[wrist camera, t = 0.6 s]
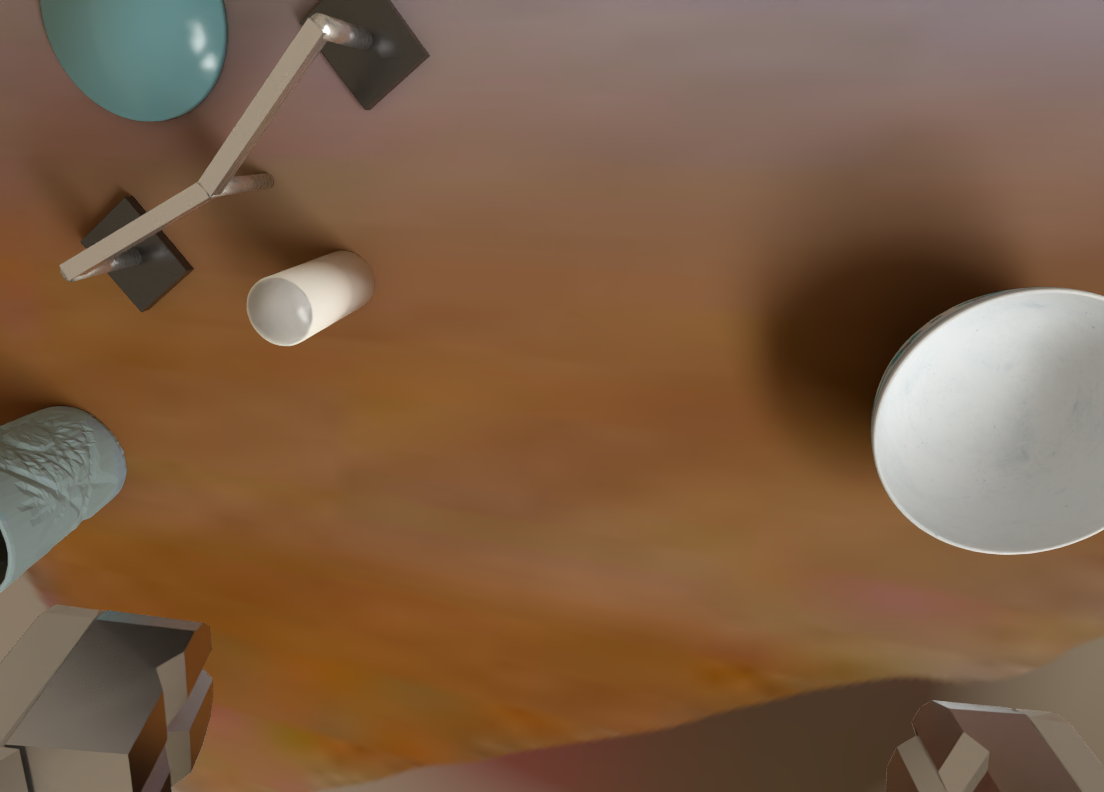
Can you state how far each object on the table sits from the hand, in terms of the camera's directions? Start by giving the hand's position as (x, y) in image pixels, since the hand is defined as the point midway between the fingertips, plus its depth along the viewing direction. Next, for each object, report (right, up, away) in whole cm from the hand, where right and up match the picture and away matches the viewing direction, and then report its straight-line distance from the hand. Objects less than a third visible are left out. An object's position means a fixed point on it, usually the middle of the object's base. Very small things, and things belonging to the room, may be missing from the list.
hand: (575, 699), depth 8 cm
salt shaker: (-14, +11, +41) cm, 45 cm away
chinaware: (+26, +4, +38) cm, 46 cm away
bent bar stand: (-20, +19, +39) cm, 48 cm away
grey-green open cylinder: (-37, -1, +50) cm, 62 cm away
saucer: (-26, +27, +37) cm, 53 cm away
